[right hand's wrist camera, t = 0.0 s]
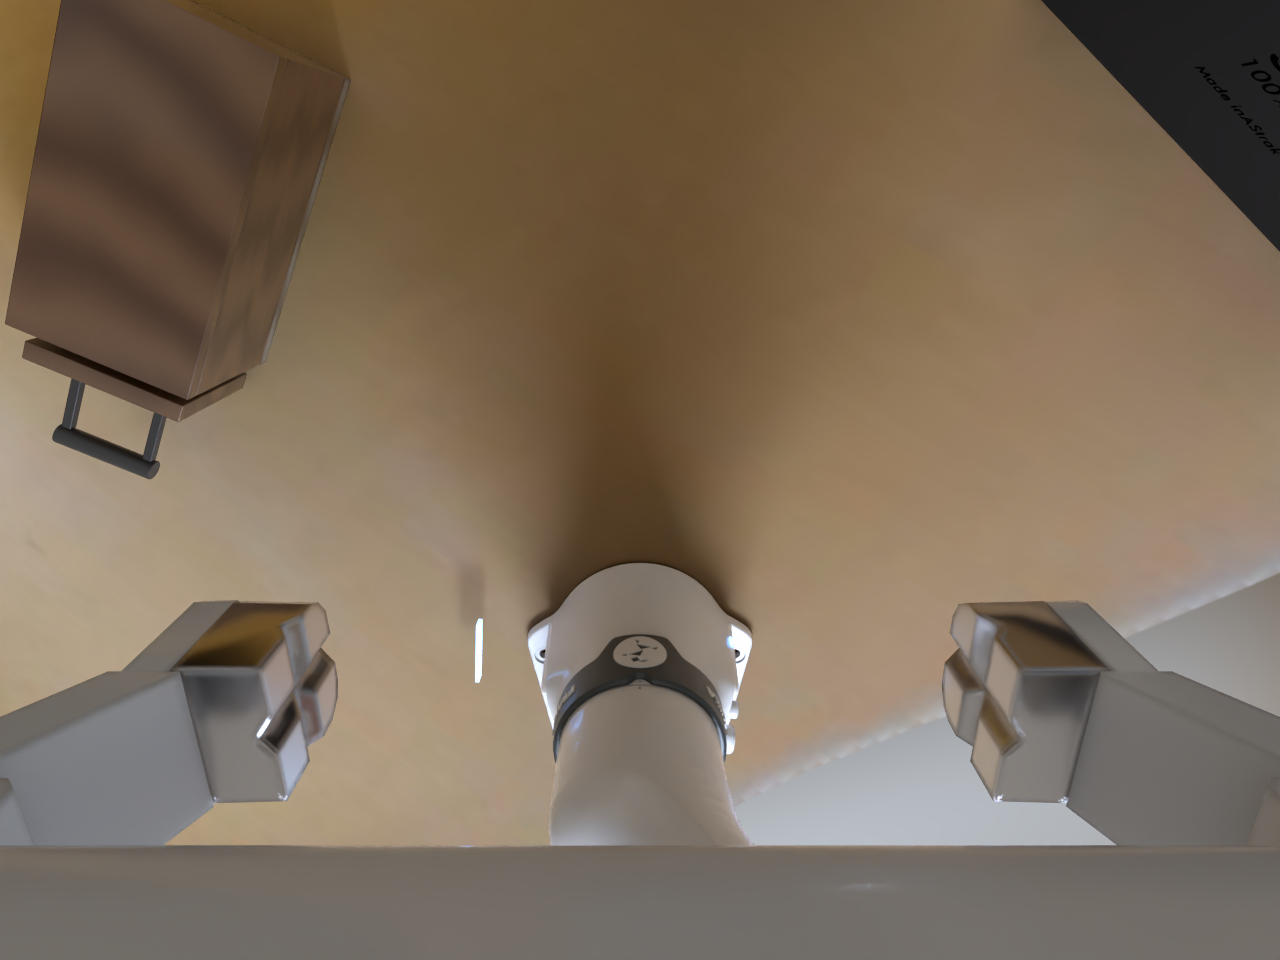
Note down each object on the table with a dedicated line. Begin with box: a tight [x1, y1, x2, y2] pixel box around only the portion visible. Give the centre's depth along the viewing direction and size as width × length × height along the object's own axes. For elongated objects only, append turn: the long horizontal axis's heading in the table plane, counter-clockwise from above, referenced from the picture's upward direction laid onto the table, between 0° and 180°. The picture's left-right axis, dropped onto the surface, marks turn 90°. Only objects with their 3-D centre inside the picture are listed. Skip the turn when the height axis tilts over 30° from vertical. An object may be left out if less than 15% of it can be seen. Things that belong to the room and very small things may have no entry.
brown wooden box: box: [5, 0, 351, 400], centre depth 48 cm, size 21×11×11 cm, turn 155°
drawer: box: [22, 338, 247, 479], centre depth 50 cm, size 25×10×9 cm, turn 155°
